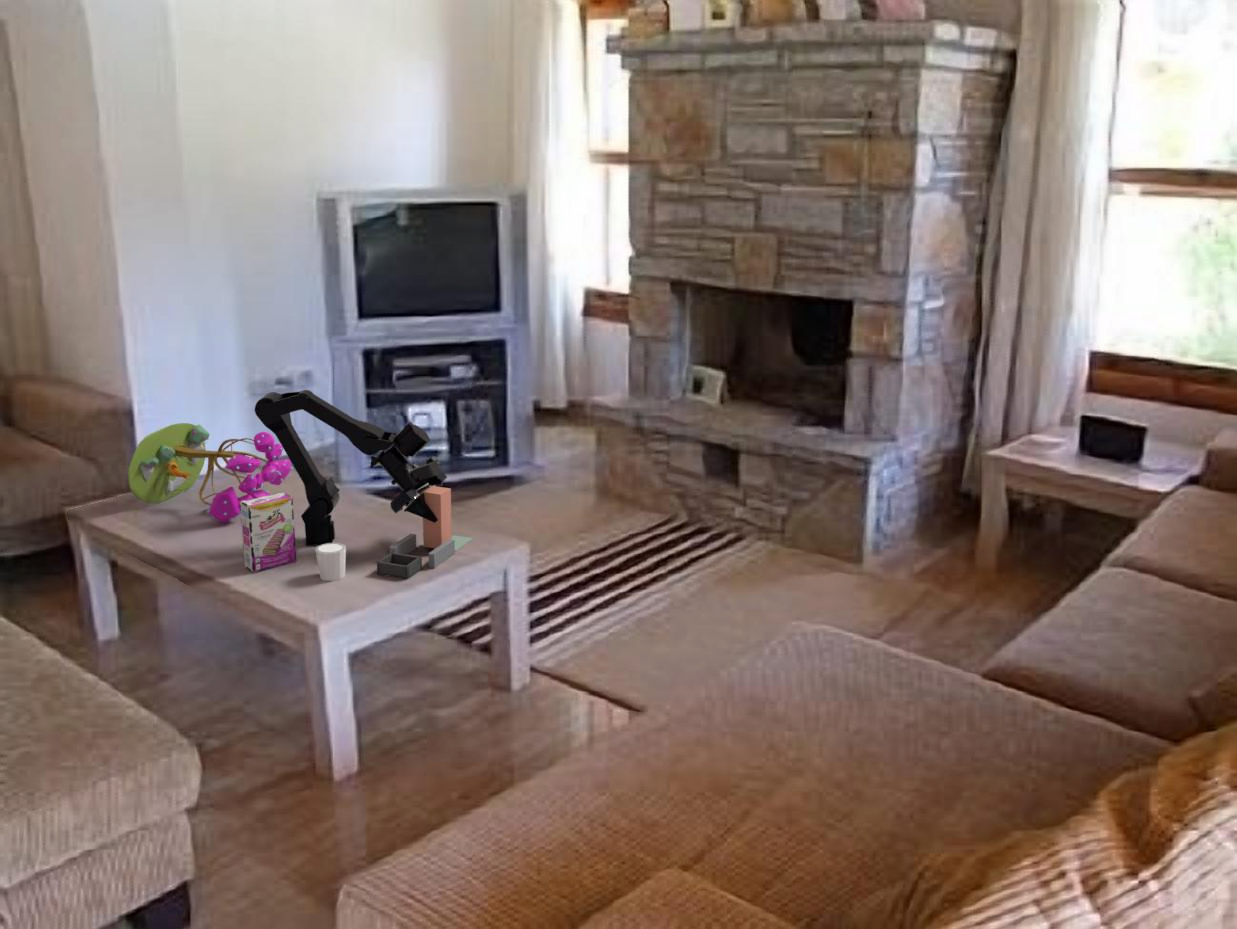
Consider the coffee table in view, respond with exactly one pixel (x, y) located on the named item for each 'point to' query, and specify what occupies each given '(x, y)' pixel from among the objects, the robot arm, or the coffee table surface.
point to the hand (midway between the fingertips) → (441, 517)
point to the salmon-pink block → (437, 516)
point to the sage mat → (458, 541)
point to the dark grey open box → (399, 565)
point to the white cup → (331, 561)
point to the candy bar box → (268, 531)
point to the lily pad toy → (179, 458)
